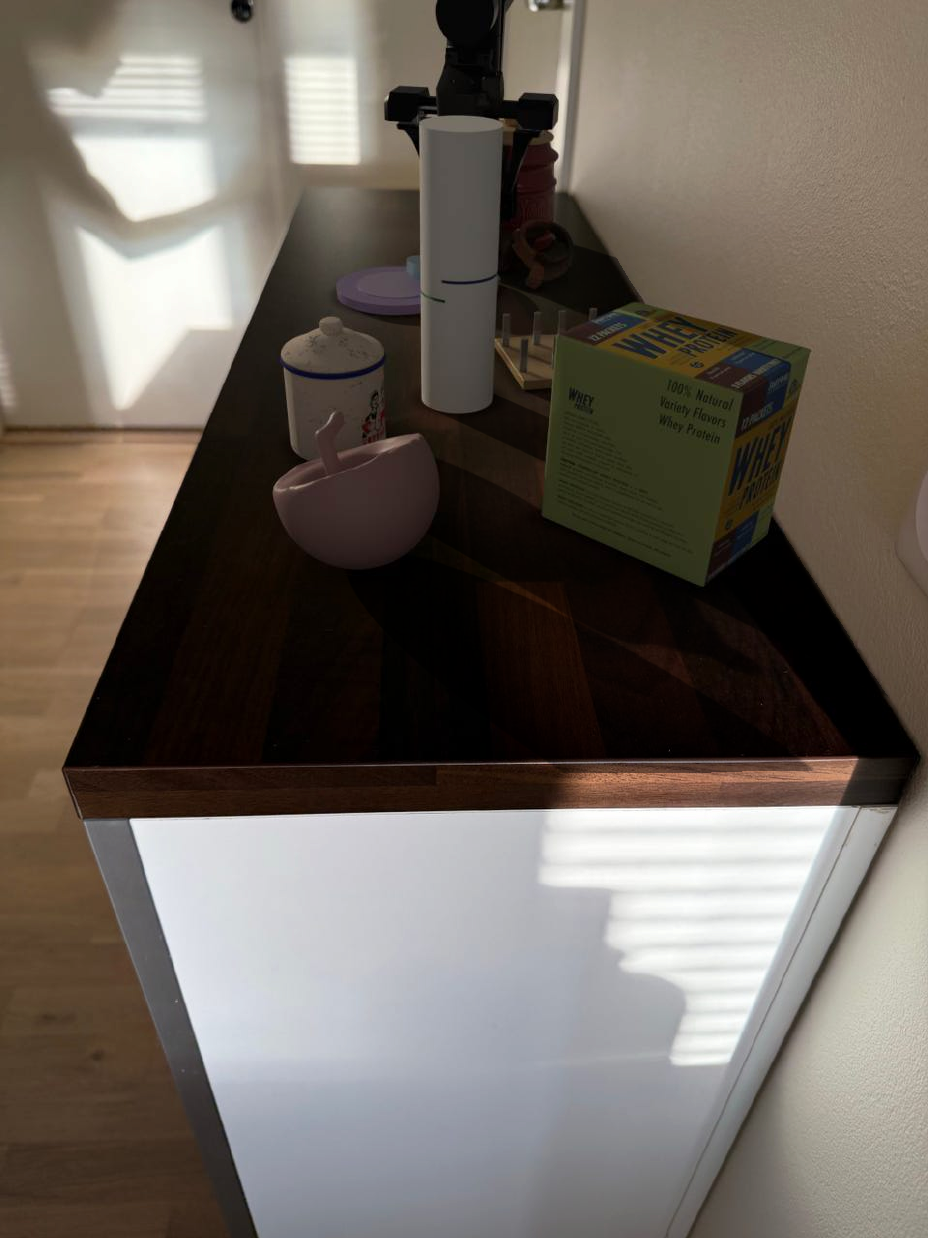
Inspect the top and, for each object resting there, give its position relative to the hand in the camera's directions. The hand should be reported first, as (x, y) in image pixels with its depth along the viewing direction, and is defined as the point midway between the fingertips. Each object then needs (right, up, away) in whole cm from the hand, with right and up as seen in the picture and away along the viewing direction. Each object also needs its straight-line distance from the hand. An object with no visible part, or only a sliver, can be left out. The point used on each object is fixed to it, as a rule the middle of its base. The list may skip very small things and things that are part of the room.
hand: (470, 190), depth 113 cm
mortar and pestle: (-9, -45, -38) cm, 60 cm away
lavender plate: (-9, -9, +10) cm, 16 cm away
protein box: (+15, -42, -34) cm, 56 cm away
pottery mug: (+7, -5, +16) cm, 18 cm away
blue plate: (-2, -6, +11) cm, 12 cm away
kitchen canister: (+6, +5, +29) cm, 30 cm away
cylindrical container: (-1, -27, -15) cm, 31 cm away
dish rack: (+9, -22, -7) cm, 25 cm away
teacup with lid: (-12, -33, -22) cm, 42 cm away
